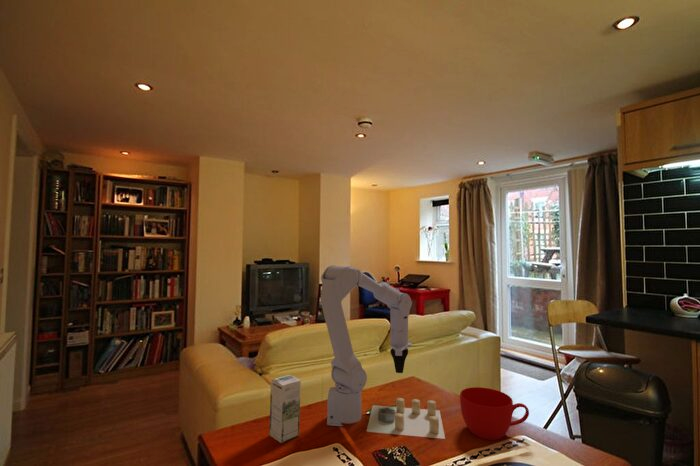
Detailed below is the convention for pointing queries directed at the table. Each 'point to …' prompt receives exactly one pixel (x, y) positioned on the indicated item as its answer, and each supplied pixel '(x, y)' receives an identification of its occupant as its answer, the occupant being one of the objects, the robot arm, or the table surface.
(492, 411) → the ceramic cup
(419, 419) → the board
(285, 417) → the syrup box
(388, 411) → the grey faceted polyhedron
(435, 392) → the table surface
